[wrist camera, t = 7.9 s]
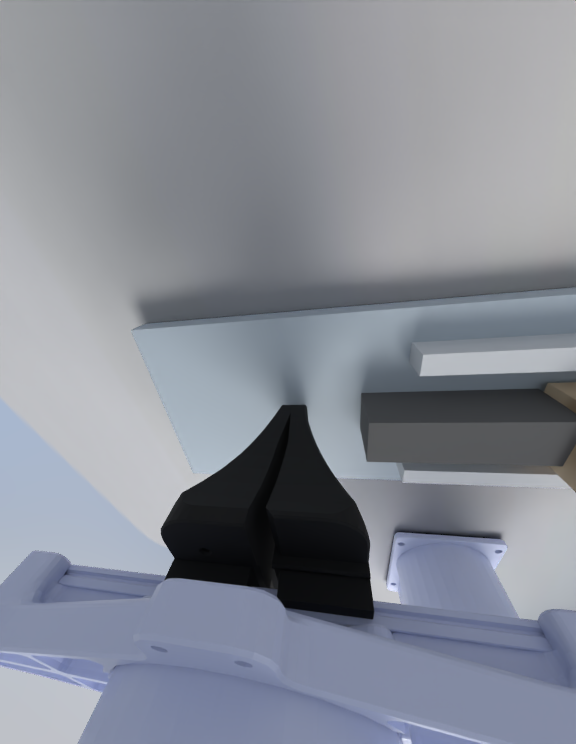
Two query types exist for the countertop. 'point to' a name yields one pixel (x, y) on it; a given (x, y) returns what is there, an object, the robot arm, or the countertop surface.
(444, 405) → the bar
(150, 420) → the countertop surface
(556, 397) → the slider block
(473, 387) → the channel
